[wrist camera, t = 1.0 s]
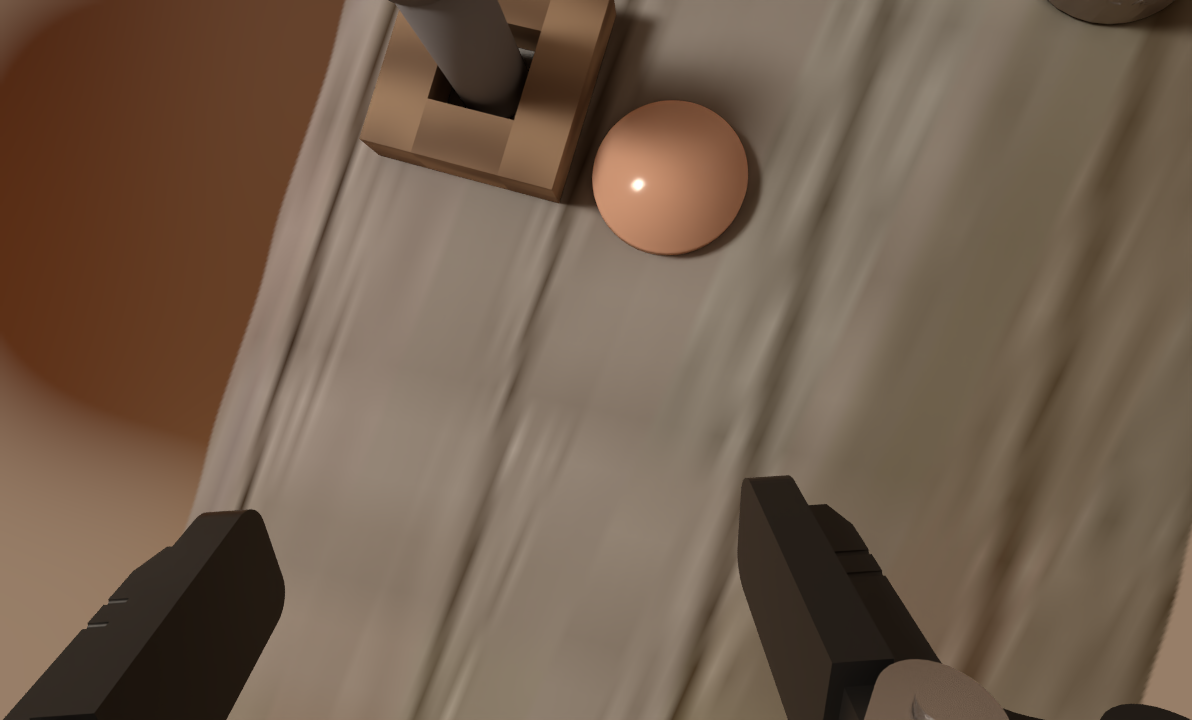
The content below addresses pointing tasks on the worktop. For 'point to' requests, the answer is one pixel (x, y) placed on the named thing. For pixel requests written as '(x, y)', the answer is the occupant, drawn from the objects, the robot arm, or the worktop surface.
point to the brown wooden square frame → (487, 142)
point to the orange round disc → (670, 177)
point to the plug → (471, 50)
